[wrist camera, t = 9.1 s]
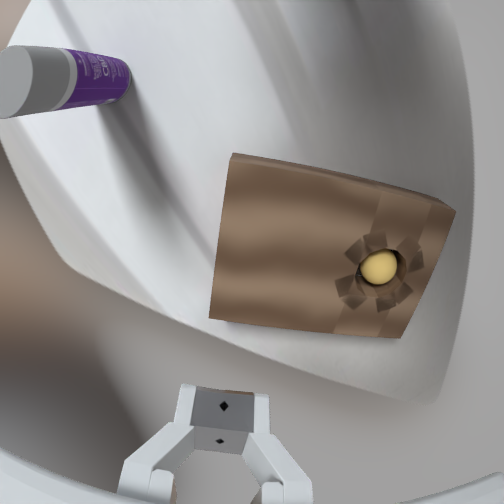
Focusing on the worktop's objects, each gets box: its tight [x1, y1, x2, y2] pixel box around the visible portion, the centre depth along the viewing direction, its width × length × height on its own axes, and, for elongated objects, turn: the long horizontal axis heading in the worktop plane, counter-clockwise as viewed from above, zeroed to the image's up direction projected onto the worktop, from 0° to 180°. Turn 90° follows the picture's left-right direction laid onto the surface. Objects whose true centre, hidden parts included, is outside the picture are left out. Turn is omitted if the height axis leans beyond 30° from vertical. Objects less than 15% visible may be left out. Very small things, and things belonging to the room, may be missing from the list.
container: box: [0, 45, 131, 119], centre depth 18 cm, size 5×5×15 cm
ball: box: [360, 248, 397, 284], centre depth 31 cm, size 4×4×4 cm
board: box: [209, 153, 456, 338], centre depth 31 cm, size 16×22×4 cm
